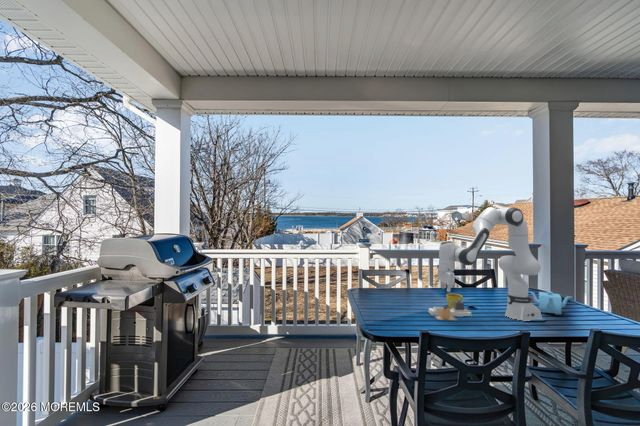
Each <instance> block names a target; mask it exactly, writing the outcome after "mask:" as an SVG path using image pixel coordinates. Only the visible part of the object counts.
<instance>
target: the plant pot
mask: <svg viewBox="0 0 640 426" xmlns="http://www.w3.org/2000/svg"><path fill="white" fill-rule="evenodd" d="M445 296H446V297H445V299H446V301H447V308H449V309H452V308H454V302H458V299H461V302H463V295H461V294H459V293H446V295H445Z"/></svg>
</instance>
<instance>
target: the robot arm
mask: <svg viewBox="0 0 640 426" xmlns="http://www.w3.org/2000/svg"><path fill="white" fill-rule="evenodd" d="M496 225H503V226H506V227H507V228H508V231H507V233H508V234H507V239H508V241H507V243H508V248H509V249H510V250H512V251H513V253H514V254H515V255H502V256H501V257H500V258H499V259H498V267H499V268H500V270H502V272H503V273H504V275H505V277H506V281H507V288H508V289H507V295H506V297H507V298H506V300H507V301H506V303H507V304H506V305H507V306H506V310H505V313H504V317H506V316H507V317H506V318H508V317H509V318H508V319H511V318H512V319H511V320H514V319H517V320H516V321H519V320H523V321H530V320H532V319H542V317H543V316H542V315H543V314H541V311H540V310H539V307H537V306H536V305H534V304H533V303H532V302H535V300H534V298H533V297H530V296H529V284H528V282H527V281H526V280H524V279H523V276H522V275H524V276H537V275H538V274H539V273H540V272H541V269H542V265H541V263H540V262H539V260H537V259H536V257H535V256H534V255H533V254H532V252H531V249H530V244H529V228H528V223H527V221H526V220H525V219H524V213H523V211H522V210H521V209H520V208H518V207H513V206H512V207H510V206H509V207H508V206H505V207H497V208H495V207H492V206H490V207H487V208H485V209H483V211H482V212H480V214H479V215H478V216H477V217H476V219H475V220H474V221H473V223H472V230H473V233H475V236H474V238H473V240H472V241H471V243H470V245H469V246H467V247H463V246H460V245H457V244H456V243H454V242H453V241H452V240H451V241H449V240H448V241H443V242H441V243H440V245H439V250H438V256H439V257H438V258H439V260H438V264H436V265H437V266H436V269H437V278H438V280H439V281H440V283H441V289H446V292H448V293H451V289H452V286H455V284H456V283H455V273H454V271H455V262H457V263H459V264H461V265H464V266H472V265H474V264H475V263H476V262H477V260H478V256H479V254H480V252H481V250H482V248H483V247H484V245H485V243H487V241H488V239H489V236H490V233H491V231H492V230H493V229H494V228H495V226H496ZM446 286H447V288H446ZM523 321H522V322H523Z"/></svg>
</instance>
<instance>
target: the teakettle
mask: <svg viewBox="0 0 640 426" xmlns="http://www.w3.org/2000/svg"><path fill="white" fill-rule="evenodd" d="M529 293H530V294H531V295H532V298H534V300H535V301H534V303H535V304H536V305H538V309H539V310H540V311H541V312H546V314H547V313H549V314H553V313H558V315H562V308H564V307H565V306H566V305H567V303H568V300H569V299H572V296H565V297H564V299H563V301H562V297H561V294H560V293H553V291H548V290H547V291H546V292H544V291H538V297H537V296H536V293H535V292H534V291H528V294H529Z"/></svg>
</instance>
